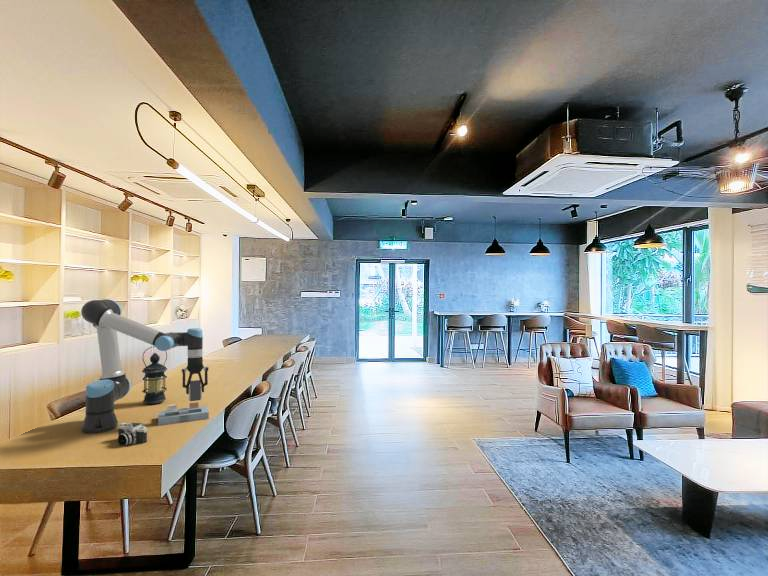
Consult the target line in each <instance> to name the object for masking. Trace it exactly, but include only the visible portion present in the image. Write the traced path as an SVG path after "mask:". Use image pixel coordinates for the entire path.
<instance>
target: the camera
mask: <svg viewBox="0 0 768 576" xmlns="http://www.w3.org/2000/svg"><path fill="white" fill-rule="evenodd" d="M142 424H143V423H141V422H121V423H119V424H118V427H117V428H118V429H117V431H118V437H117V443H118V445H119V446H123V447H127V446H129V445H131V444H132V445H135V444H139V445H140V444H141V445H142V444H146V443H148V427H147V426H145V425H142Z"/></svg>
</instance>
